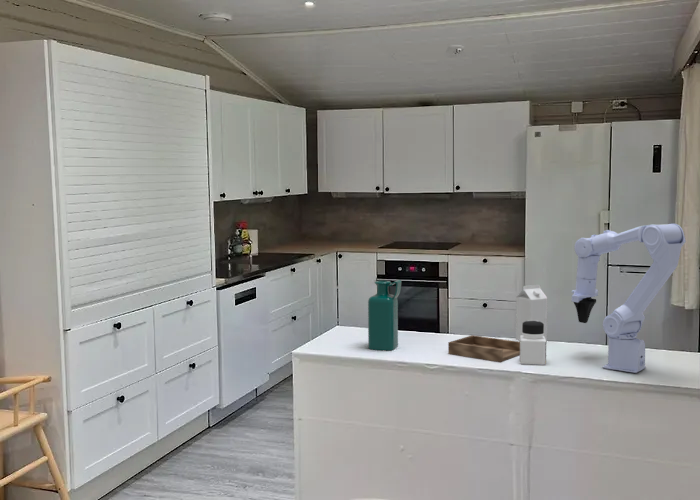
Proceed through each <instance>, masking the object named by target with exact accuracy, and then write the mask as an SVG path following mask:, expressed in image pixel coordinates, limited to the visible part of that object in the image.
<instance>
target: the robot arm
mask: <svg viewBox="0 0 700 500" xmlns="http://www.w3.org/2000/svg"><path fill="white" fill-rule="evenodd" d="M638 241H639V243H643V244H644V247H645V248H646V251H647V253H648V254H649V256H650V258H651V259H652V261H653V262H652V263H651V265H650V267H649V268H648V270H647V271H646V272H645V274H643V276H642V278H641V279H640V281H639V282H638V284H637V285H636V286H635V288H634V289H633V290H632V292H631V293H630V295H629V296H628V297H627V299H625V302H624V303H623V304H622V305H620V306H619V307H616V308H615V309H614V310H613V311H612V313H610V314H608V315H606V316H605V317H604V319H603V321H602V328H603V331H604V333H605V334H606V337H607V338H608V340H607V341H608V346H607V347H608V352H607V353H608V356H607V364H604V365H602V368H603V369H607V370H614V371H620V372H627V373H634V374H637V373H639V372H641V371H643V370H644V369H646V368H647V367H646V343H645V341H644V339H640V338H638V334H639V332H641V330H642V327H643V323H644V321H645V319H646V317H645V314H644V312H645V311H646V309H647V308H648V307H649V305H650V304H651V303H652V301H654V299H655V297H656V296H657V294H658V293H659V292H660V291H661V289H662V288H663V286H664V285H665V283H666V282H667V281H668V280H669V278H670V277H671V275H672V274H673V273H674V271H675V270H676V269H677V267H678V264H679V261H680V257H681V251H682V248H683V246H684V245H685V243H686V242H687V241H686V236H685V233H684V230H683V227H681V225H679V224H677V223H669V224H668V223H665V224H655V223H653V224H647V225H640V226H639V225H638V226H637V227H634V228H631V229H630V228H629V229H628V230H625V231H622V232H616V231H614V230H610V229H606V230H603V232H602V233H600V234H592V235H590V237H580V238H579V239H577V240H576V241H575V243H574V253H575V254H576V255H577V266H576V267H577V268H576V278H575V279H576V280H575V281H576V282H575V289H572V290H571V294H572V295H571V302H573V304H574V306H575V309H576V313H577V319H578V323H583V324H587V323H588V321H589V318H590V315H591V313H592V310H593V308H594V305H595V304H596V303H597V299H596V298H595V297H597V296H599V289H597V278H598V277H597V276H598V267H599V266H598V265H599V261H600V259H601V256H602V255H604V254H607V253H609V254H610V253H612V252H615V251H618V250H619V249H620V248H621V247H622V245H625V244H629V243H634V242H638ZM593 297H594V298H593Z"/></svg>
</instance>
